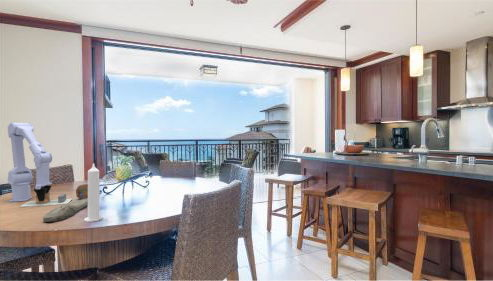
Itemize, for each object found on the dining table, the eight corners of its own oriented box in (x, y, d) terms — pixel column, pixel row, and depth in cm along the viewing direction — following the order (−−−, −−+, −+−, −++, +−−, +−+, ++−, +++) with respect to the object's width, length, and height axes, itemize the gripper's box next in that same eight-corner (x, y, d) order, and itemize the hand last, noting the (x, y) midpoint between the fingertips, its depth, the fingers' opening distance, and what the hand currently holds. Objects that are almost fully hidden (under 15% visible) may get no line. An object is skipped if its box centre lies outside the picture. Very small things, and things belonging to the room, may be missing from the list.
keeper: (38, 201, 148) (38, 193, 148) (49, 200, 150) (49, 192, 150) (35, 203, 144) (35, 194, 144) (47, 202, 146) (47, 194, 146)
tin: (79, 200, 155) (79, 185, 155) (74, 200, 156) (74, 185, 156) (98, 194, 170) (98, 181, 170) (94, 194, 171) (94, 181, 170)
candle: (89, 217, 123) (89, 162, 123) (105, 217, 124) (105, 162, 123) (81, 222, 116) (81, 163, 116) (98, 221, 117) (98, 163, 116)
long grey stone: (96, 205, 149) (76, 207, 148) (95, 196, 150) (76, 197, 148) (61, 222, 115) (36, 224, 113) (61, 209, 115) (35, 211, 114)
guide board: (29, 202, 150) (29, 194, 150) (73, 199, 157) (73, 192, 157) (19, 207, 139) (19, 199, 138) (67, 204, 146) (67, 196, 146)
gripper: (46, 176, 141) (46, 202, 141) (56, 173, 155) (56, 196, 155) (30, 177, 139) (30, 203, 139) (41, 173, 153) (41, 197, 153)
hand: (43, 200), depth 147 cm, fingers closed on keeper, 4 cm apart
